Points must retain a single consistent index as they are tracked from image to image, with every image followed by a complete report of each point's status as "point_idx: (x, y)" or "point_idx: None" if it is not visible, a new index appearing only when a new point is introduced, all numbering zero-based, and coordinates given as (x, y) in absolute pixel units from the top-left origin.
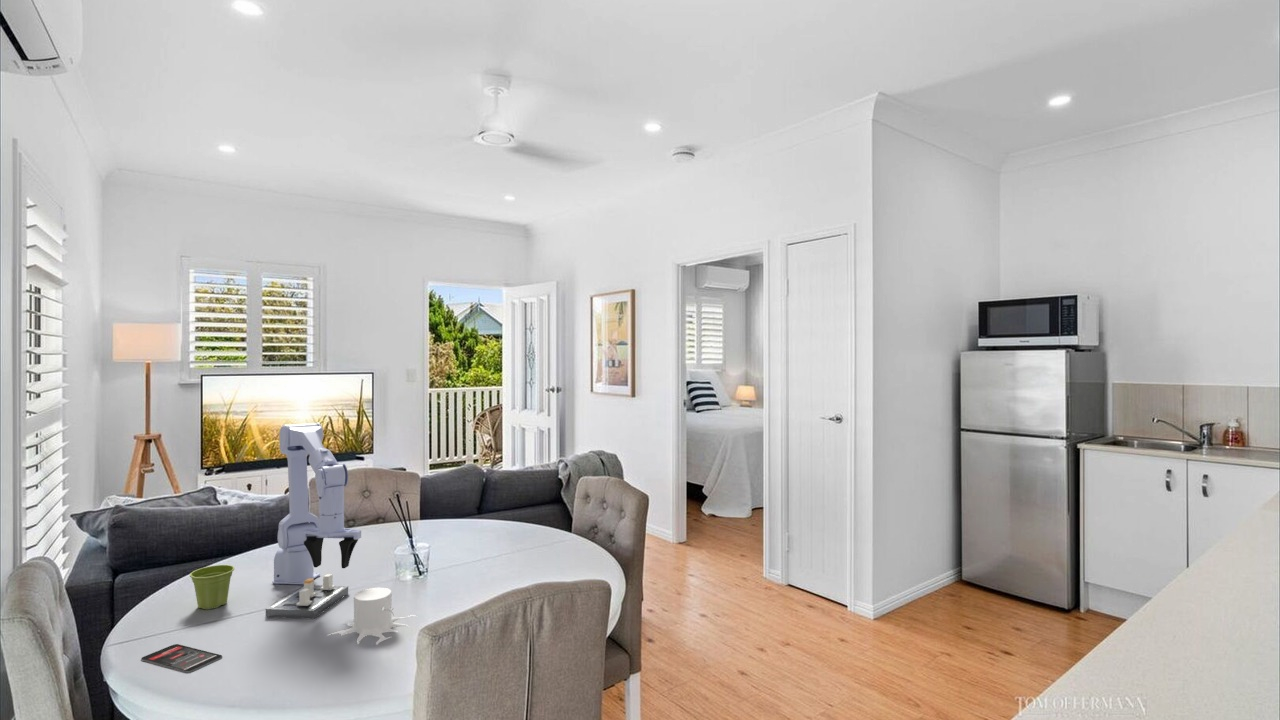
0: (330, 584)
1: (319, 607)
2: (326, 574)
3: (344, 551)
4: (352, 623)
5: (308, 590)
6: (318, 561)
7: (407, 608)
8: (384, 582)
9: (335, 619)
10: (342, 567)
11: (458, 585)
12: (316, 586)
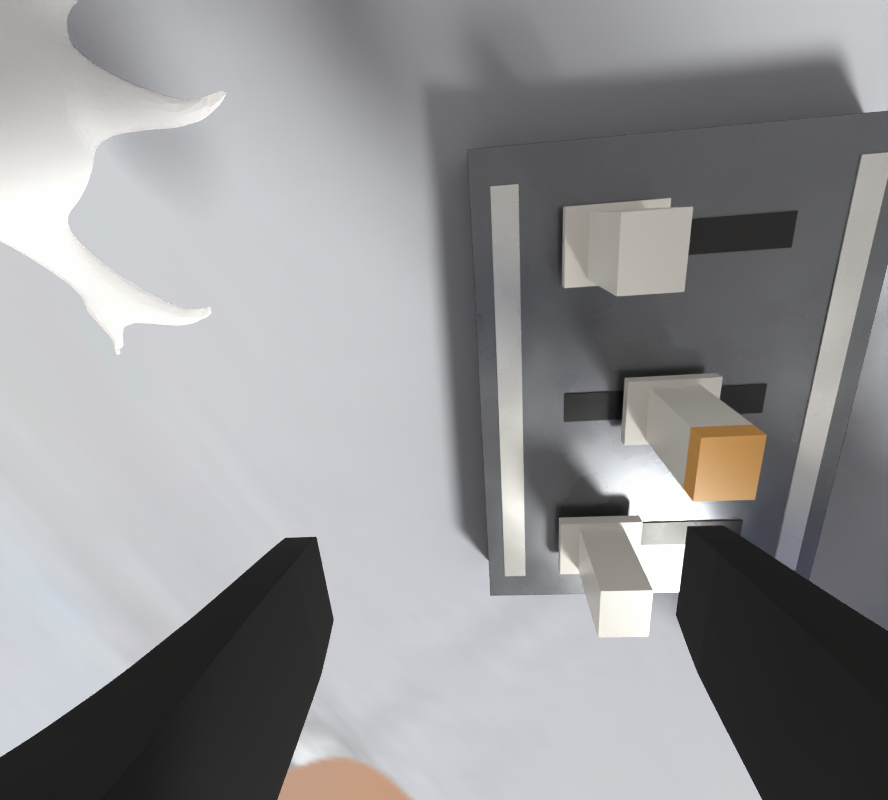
0: (582, 559)
1: (472, 241)
2: (647, 628)
3: (23, 769)
4: (108, 91)
5: (614, 273)
6: (714, 623)
7: (6, 416)
8: (388, 705)
9: (309, 179)
10: (303, 542)
11: (7, 699)
12: None
